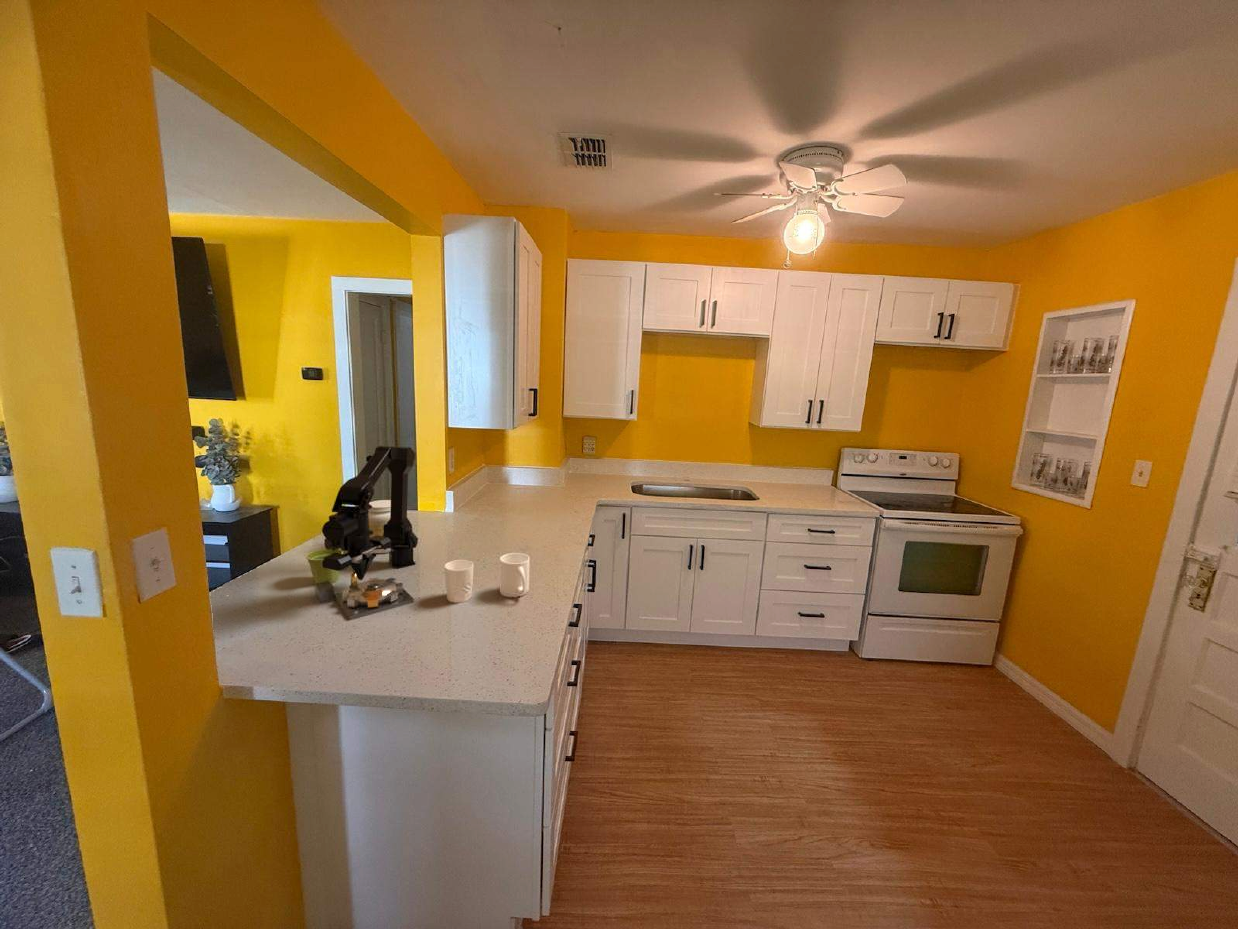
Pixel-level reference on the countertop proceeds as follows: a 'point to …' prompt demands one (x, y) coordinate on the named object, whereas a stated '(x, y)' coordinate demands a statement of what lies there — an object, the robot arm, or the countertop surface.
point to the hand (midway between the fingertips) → (360, 579)
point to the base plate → (364, 610)
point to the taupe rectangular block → (324, 591)
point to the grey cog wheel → (371, 591)
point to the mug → (514, 574)
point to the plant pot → (317, 566)
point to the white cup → (459, 580)
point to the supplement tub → (379, 520)
